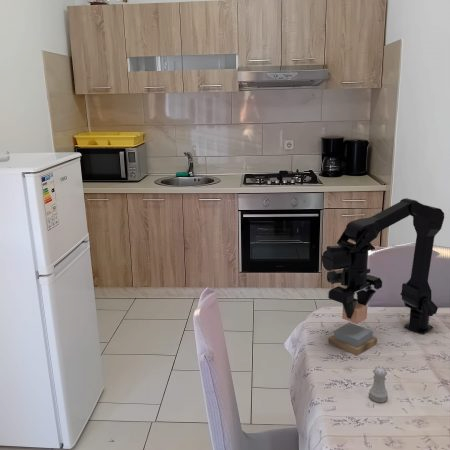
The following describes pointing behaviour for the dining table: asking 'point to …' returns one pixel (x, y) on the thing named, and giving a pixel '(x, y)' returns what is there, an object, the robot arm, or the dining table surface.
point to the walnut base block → (351, 348)
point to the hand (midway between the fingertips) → (354, 315)
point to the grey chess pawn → (379, 385)
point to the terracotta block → (356, 314)
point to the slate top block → (353, 334)
